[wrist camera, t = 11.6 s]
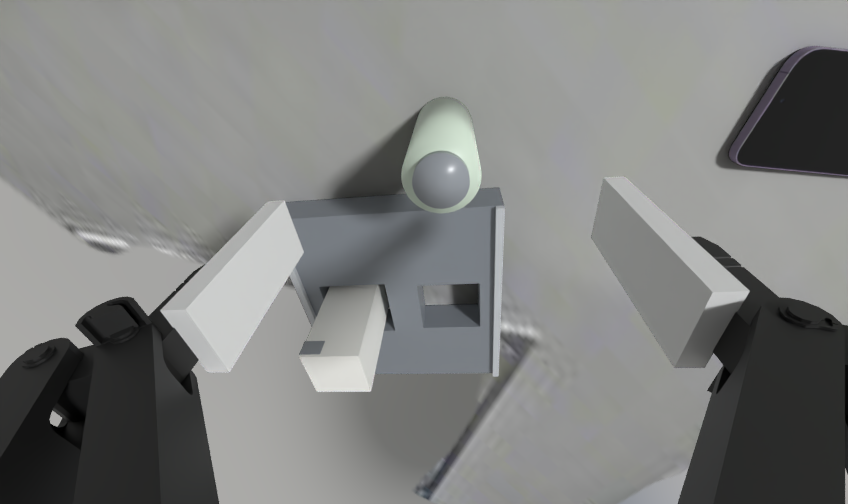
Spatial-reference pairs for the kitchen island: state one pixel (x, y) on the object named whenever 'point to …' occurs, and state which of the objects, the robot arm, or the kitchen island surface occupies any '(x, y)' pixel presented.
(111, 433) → the robot arm
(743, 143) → the smartphone
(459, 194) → the peg
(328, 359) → the block
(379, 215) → the grey socket board
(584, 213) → the kitchen island surface
